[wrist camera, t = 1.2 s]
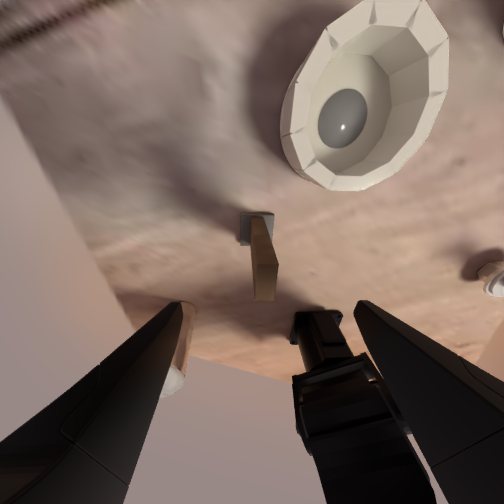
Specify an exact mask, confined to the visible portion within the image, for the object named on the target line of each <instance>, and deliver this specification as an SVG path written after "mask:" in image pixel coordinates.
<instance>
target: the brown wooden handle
mask: <svg viewBox="0 0 504 504" xmlns="http://www.w3.org/2000/svg"><path fill="white" fill-rule="evenodd" d="M273 226H274V214H264V213H240V246H250V247H251V259H252V271H253V284H254V296H255V302H260V301H274V297H275V290H276V282H277V274H278V266H279V263H278V260H277V257H276V254H275V251H274V248H273V245H272V236H273Z"/></svg>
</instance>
